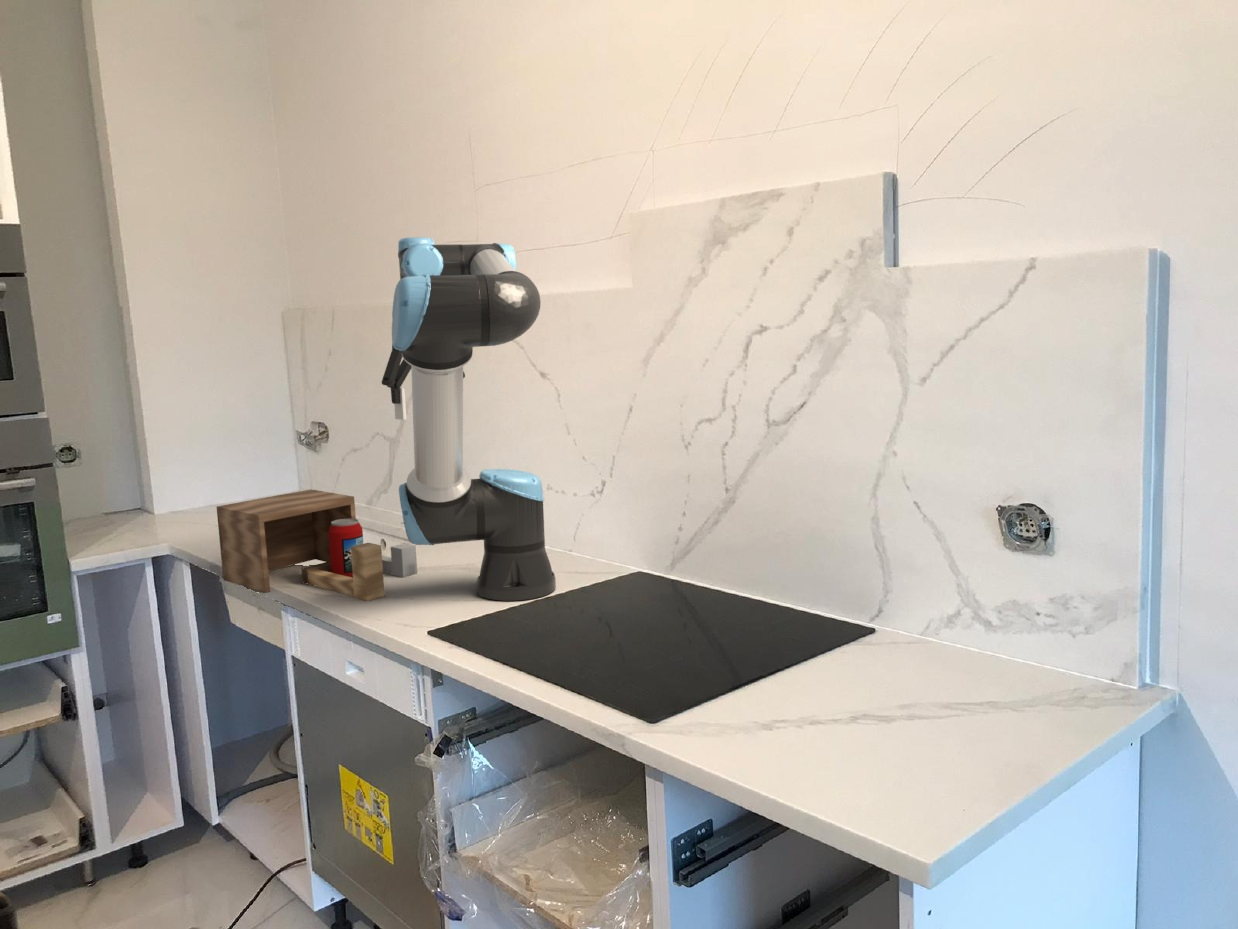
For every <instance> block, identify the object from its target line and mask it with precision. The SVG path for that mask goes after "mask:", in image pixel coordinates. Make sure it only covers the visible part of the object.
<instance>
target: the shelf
mask: <svg viewBox="0 0 1238 929" xmlns="http://www.w3.org/2000/svg"><path fill="white" fill-rule="evenodd" d="M355 502H356V500H355V496H352V495H347V494H342V493H341V494H340V493H334V492H329V491H323V490H316V489H311V488H310V489H305V490H300V491H294V492H288V493H284V494H283V493H282V494H277V495H273V496H272V495H271V496H267V497H261V498H257V499H256V498H255V499H251V500H245V501H239V502H234V503H228V504H223V505H218V506H216V516H217V527H218V535H219V536H218V537H219V547H220V548H219V549H220V558H221V567H222V568H221V570H222V577H223V578H222V579H223V581H225V582H229V583H232V584H236V585H238V586H242V587H245V588H248V589H251V590H255V591H259V592H262V593H265V594H266V593H270V592H271V589H270V588H271V587H270V586H271V585H270V576H269V575H270V574H269V571H272V570H273V571H274V570H277V569H281V568H285V567H289V566H294V565H297V564H303V563H307V562H310V561H314V560H316V561H320V562H323V563H325V562H328V561H330V550H329V535H328V530H329V528H330V526H331V522H332V521H335V520H339V519H357V518H356V516H357V515H356V505H355Z"/></svg>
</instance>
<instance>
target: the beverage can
mask: <svg viewBox="0 0 1238 929" xmlns="http://www.w3.org/2000/svg"><path fill="white" fill-rule="evenodd" d="M328 535H329V550H330V562H331V573H335V574H339V575H343V576H348V577H352V578H353V570H352V557H351V547H352V546H356V545H360V544H364V543H365V542H364V532H363V526H362V525H361V524H360V522H359V519H357V518H356V519H339V520H335V521H332V522H331V526H330V528H329V530H328Z"/></svg>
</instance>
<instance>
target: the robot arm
mask: <svg viewBox="0 0 1238 929" xmlns="http://www.w3.org/2000/svg"><path fill="white" fill-rule="evenodd" d="M397 250H398V252H397V257H398V264H399V265H398V266H399V280H398V282H397V284H396V286H395V290H394V293H393V301H392V311H391V312H392V313H391V314H392V322H391V342H392V343H391V352H390V356H389V358H388V361H387V364H386V366H385V370H384V374H383V376H382V379H381V385H383V386H386V387H387V388H390V395H391V396H390V397H391V404H394V417H395V418H394V419H395V420H399V421H400V420H403V421H406V420H407V405H406V403H407V402H406V389H405V387H402V385H403V383H404V382H405V380H406V378H407V377H408V375H409V374H410V371H411V395H412V399H411V400H412V424H413V425H412V426H413V427H412V429H413V455H414V456H413V458H414V459H413V460H414V461H413V462H414V468H413V469H411V471H410V472H409V473H408V474H407V477H406V482H404V483H402V484H400V485H399V486H398V494H399V502H400V503H399V504H400V508H401V512H402V514H401V515H402V521H403V524H404V530H405V534H406V537H407V540H408V541H409V542H410V543H411V545H415V546H427V545H428V546H434V545H441V544H450V543H451V544H452V543H460V542H461V543H463V542H473V541H474V542H475V541H483V552H484V553H483V557H482V561H481V566H480V571H479V575H478V576H477V579H476V593H477V595H478V596H480V597H482V598H485V599H488V600H495V601H507V602H508V601H512V602H514V601H525V600H526V601H527V600H532V599H536V598H541V597H545V596H547V595H549V594H551V593H553V592H554V591H556V587H557V586H556V576H555V573H554V571H553V569H552V566H551V562H550V560H549V557H548V553H547V551H546V541H545V540H546V539H545V538H546V537H545V518H544V517H545V515H544V501H545V497H544V491H543V483H542V480H541V478H540V477H539V476H538V475H536V474H534V473H531V472H530V471H529V472H528V471H523V470H518V469H516V470H515V469H509V468H507V469H506V468H489V469H488V468H487V469H482V470H481V471H480V473H479V476H478V477H479V478H472V477H471V475H470V473H469V472H468V471H467V469H465V468H464V467H463V466H464V464H463V463H464V461H463V460H464V457H463V456H464V449H463V447H464V379H465V377H466V374H465V372H464V366H465V365H467V364H468V363H469V362H470V361H471V360H472V358H473V350H474V349H473V348H477V347H480V348H481V347H494V346H500V345H504V344H508V343H510V342H511V341H514V340H516V339H517V338H520V337H521V336H522V335H524V334H525V333H527V331H528V330H529V329H530V328H531V327H532V326H533V325H534V324H535V322H536V320H537V319H538V316H539V314H540V312H541V311H540V310H541V295H540V292H539V289H538V287H537V286H536V285H535V283H534V282H533V281H532V280H531V278H530V277H529V276H527V275H526V274H524V273H522V272H519V271H517V259H516V252H515V248H514V247H513V245H511V244H509V243H507V244H506V243H499V242H494V243H481V244H480V243H478V244H477V243H476V244H474V243H473V244H471V243H470V244H469V243H468V244H460V243H459V244H436V242H435V240H434V239H433V238H432V237H425V236H424V237H423V236H422V237H418V236H417V237H405V238H404V237H403V238H401V239H399V240H398V248H397Z"/></svg>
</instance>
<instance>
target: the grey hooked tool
mask: <svg viewBox="0 0 1238 929" xmlns="http://www.w3.org/2000/svg"><path fill="white" fill-rule="evenodd" d="M416 546H417V545H415V544H412V543H411V544H409V543H406V542H405V543H401V544H397V545H393V546H392V545H391V546H390V556H387V555H383V554H382V564H383V573H388V574H391V575H392V576H394V577H395V576H396V577H398V578H407V577H408V578H409V577H411V576H414V575H418V561H417V547H416Z"/></svg>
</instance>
